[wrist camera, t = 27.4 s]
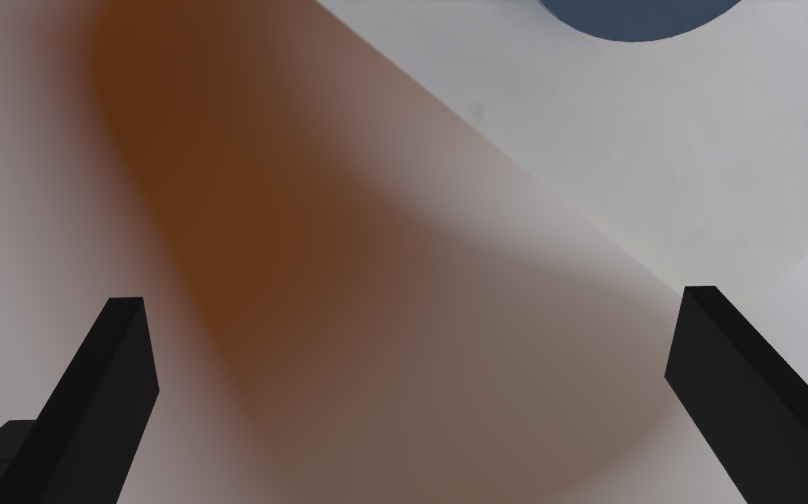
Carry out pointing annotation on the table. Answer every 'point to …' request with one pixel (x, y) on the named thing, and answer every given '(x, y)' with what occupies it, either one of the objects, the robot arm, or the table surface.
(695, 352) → the robot arm
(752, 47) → the table surface
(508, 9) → the table surface
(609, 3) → the lid
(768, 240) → the table surface
